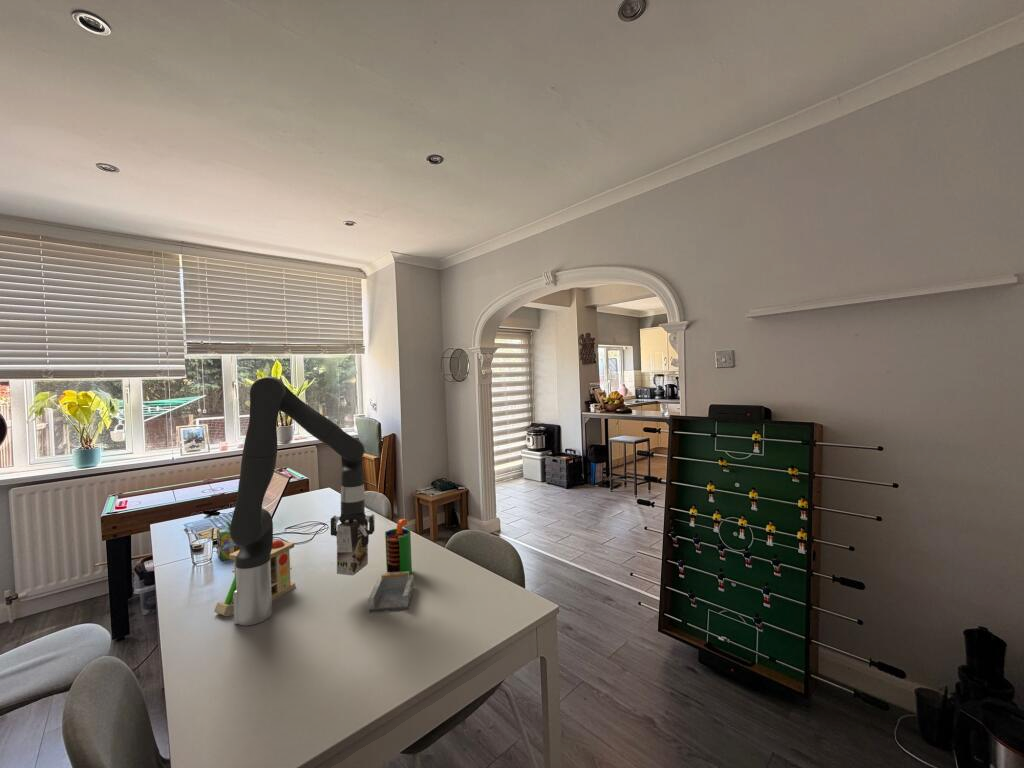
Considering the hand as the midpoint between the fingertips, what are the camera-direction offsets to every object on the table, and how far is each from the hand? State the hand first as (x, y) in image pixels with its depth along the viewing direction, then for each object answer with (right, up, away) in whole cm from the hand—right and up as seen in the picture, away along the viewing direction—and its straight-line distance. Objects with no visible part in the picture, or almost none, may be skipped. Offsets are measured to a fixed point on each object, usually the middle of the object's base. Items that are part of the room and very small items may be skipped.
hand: (352, 546), depth 142 cm
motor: (+11, -17, +17) cm, 26 cm away
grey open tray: (+14, -17, -2) cm, 22 cm away
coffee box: (0, -8, 0) cm, 8 cm away
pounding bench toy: (-34, -18, 0) cm, 39 cm away
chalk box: (-66, -19, +39) cm, 79 cm away
